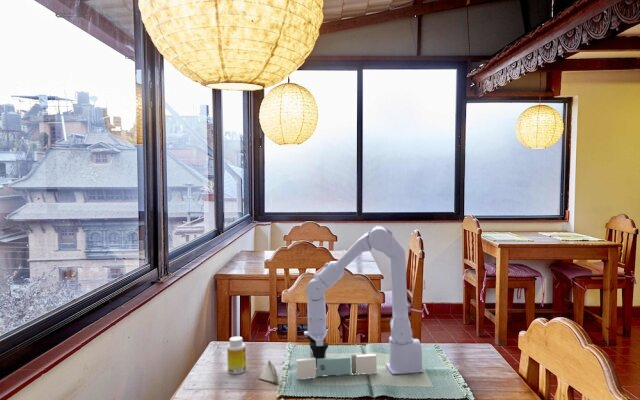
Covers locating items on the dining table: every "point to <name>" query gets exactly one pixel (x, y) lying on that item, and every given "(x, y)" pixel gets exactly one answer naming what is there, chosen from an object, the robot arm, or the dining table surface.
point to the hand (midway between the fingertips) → (317, 360)
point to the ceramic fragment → (269, 374)
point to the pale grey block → (313, 355)
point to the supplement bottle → (236, 355)
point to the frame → (359, 363)
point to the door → (333, 366)
